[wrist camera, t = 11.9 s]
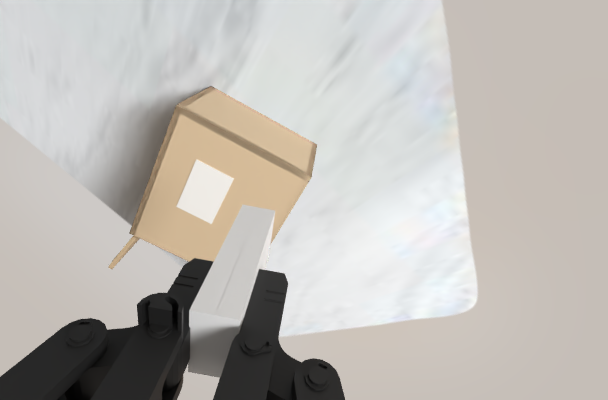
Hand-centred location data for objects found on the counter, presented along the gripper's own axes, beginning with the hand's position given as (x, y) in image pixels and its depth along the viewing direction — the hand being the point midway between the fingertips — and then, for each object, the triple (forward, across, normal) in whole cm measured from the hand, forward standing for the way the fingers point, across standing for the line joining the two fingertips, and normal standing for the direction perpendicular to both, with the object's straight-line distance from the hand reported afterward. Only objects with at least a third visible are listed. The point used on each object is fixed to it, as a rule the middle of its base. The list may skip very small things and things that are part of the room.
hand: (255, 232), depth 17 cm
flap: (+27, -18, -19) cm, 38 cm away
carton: (+28, -7, -10) cm, 31 cm away
